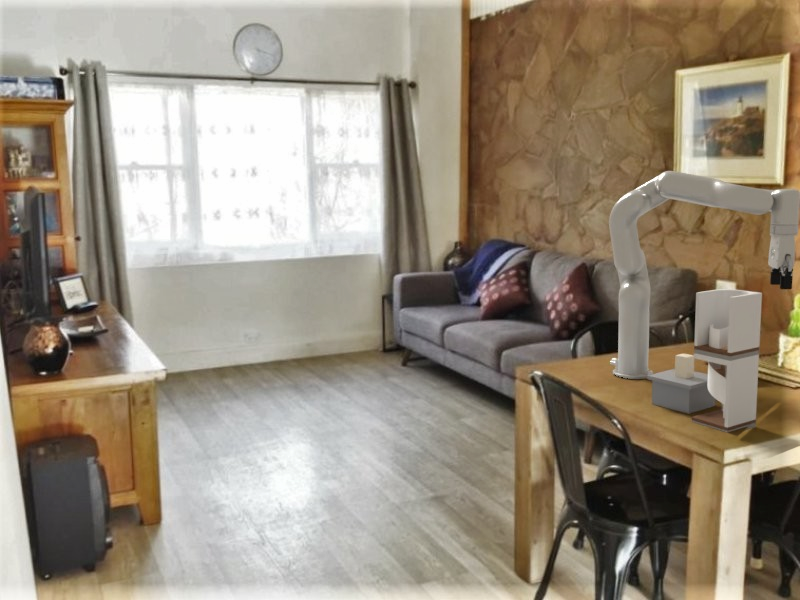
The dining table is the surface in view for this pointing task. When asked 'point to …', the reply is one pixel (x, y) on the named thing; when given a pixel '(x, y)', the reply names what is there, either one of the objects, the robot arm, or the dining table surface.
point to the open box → (681, 397)
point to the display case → (729, 354)
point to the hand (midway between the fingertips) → (780, 286)
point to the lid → (682, 374)
